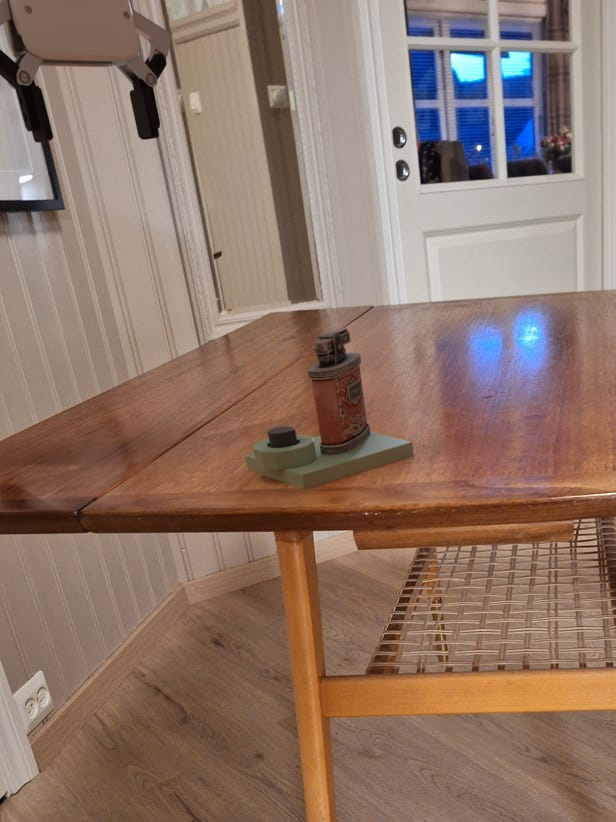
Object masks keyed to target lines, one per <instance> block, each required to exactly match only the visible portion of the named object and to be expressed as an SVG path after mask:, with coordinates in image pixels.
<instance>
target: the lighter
mask: <svg viewBox="0 0 616 822" xmlns="http://www.w3.org/2000/svg"><path fill="white" fill-rule="evenodd" d="M347 328H348V327H340V328H337V329H334V330H332V331H330V332H328V331H326V332H319V333H318V339H317V340H315V341H313V346H314V352H315V353H314V354H315V355H316V357H317V360H318V361H316V362H315V363H313V364H312V365H310V367H308V368H307V373H308V379H310V380H311V385H312V392H313V397H314V404H315V410H316V417H317V422H318V430H319V435H320V436H321V442H320V450H321V454H323V455H330V456H331V455H341V454H345V453H348V452H349V451H351V450H353V449H355V448H357V447H358V446H360V445H361V444H363V443H364V442H365V441H366V440H367V439H368V438H369V436H370V434H371V433H370V432H371V426H370V424H369V423H368V420H367V411H366V405H365V404H366V403H365V396H364V388H363V381H362V374H361V366H360V365H361V363H362V357H361V353H359V352H347V351H346V347H345V346H346V345H347V344H349V343H351V341H352V340H351V334H350V330H348V329H347Z"/></svg>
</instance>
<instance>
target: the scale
mask: <svg viewBox="0 0 616 822" xmlns="http://www.w3.org/2000/svg"><path fill="white" fill-rule="evenodd" d="M370 433H371V434H370V436H369V438H368V439H367V440H366V441H365V442H364V443H363V444H361V445H360V446H358V447H357V448H355V449H353V450H351V451H349V452H348V453H345V454H341V455H331V456H330V455H323V454H321V450H320V442H321V436H320V434H319V435H315V436H308V435H304V434H296V437H297V443H298V444H297V445H293V446H290V447H283V448H271V447H270V442H269V438H266V439H262V440H260V441H258V442H256V443H254V444H253V448H252V449H253V452H252V453H250V454H246V455H244V458H245V463H246V468H247V470H248V471H252V472H254V473H257V474H260V475H263V476H266V477H269V478H271V479H274V480H276V481H279V482H282V483H285V484H288V485H290V486H293V487H296V488H299V489H301V490H308V489H312V488H314V487H317V486H321V485H324V484H328V483H331V482H335V481H337V480H340V479H344V478H347V477H349V476H353V475H356V474H360V473H363V472H367V471H369V470H373V469H375V468H376V469H377V468H379V467H382V466H385V465H388V464H392V463H395V462H399V461H402V460H405V459H408V458H411V457H414V445H413V441H410V440H407V439H401V438H397V437H394V436H389V435H385V434H382V433H378V432H373V431H370Z"/></svg>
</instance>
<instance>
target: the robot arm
mask: <svg viewBox="0 0 616 822" xmlns="http://www.w3.org/2000/svg"><path fill="white" fill-rule="evenodd" d="M131 6H132V5H131V2H130V0H0V27H1V26H3V31H4V34H5V37H6V41H7V46H8V48H9V50H10V53H11V55H12V56H13V57H14V58H15V60H13V59H12V58H11V57H10V56H9V55H7V53H5V52H4V51H3V50H2V49H0V77H2V78H3V79H4V80H5V81H6V82H7V84H8V86H9V87H11V89H13V90H15V93H16V98H17V101H18V104H19V105H18V106H19V108H20V112H21V113H20V114H21V116H22V120H23V123H24V127H25V129H26V131H27V132H31V134H32V138H33V141H34V142H35V143H37V144H38V143H45V142H50V141H52V140H53V139H54V133H53V129H52V125H51V122H50V118H49V113H48V110H47V106H46V101H45V97H44V94H43V90H42V88H41V87H40V85H36V82H35V77H36V76H37V73H38V71H39V69H40V67H42V66H43V67H73V68H74V67H75V68H76V67H77V68H79V67H80V68H107V67H108V68H109V67H114V66H115V67H116V68H117V69H118V70H119V72H120V73H122V75H123V76H124V77H125V78H126V79H127V80H128V81H129V82H130V84H131V85H132V88H133V89H131V90H129V98H130V104H131V108H132V112H133V117H134V122H135V127H136V131H137V135H138V136H137V137H138V138H139V139H140V140H142V141H144V140H148V141H149V140H154V139H158V138H159V137H160V131H159V129H160V127H161V120H160V115H159V110H158V106H157V100H156V95H155V89H154V87H156V86H157V85H158V80H159V78H160V77H161V75H162V74H163V72H164V70H165V68H166V67H167V57H168V56H169V51H170V45H171V42H172V36H171V33H170V32H169V31H168V30H167V29H165V28H163V27H162V26H160V25H158V24H157V23H155V22H154V21H152V20H151V19H149V18H147V17H146V16H144V15H143V14H141V13H140V12H138V11H137V10H134V9H133V8H132V7H131ZM138 36H140V37H142V38H144V39H145V40H147V42H148V43H149V45H150V46H149V55H148V57H147V58H146V59H145V61H144V60H143V59H142V58H141V57H140V56H139V50H140V47H139V46H140V45H139V38H138Z"/></svg>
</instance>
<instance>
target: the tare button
mask: <svg viewBox="0 0 616 822" xmlns="http://www.w3.org/2000/svg"><path fill="white" fill-rule="evenodd" d="M296 435H297V432H296V428H295V427H294V426H288V425H287V426H286V425H284V426H277V427H273V428H270V429H269V430H267V437H268V439H269V442H270V447H271V448H283V447H290V446H293V445H297V444H298V443H297V437H296Z"/></svg>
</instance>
